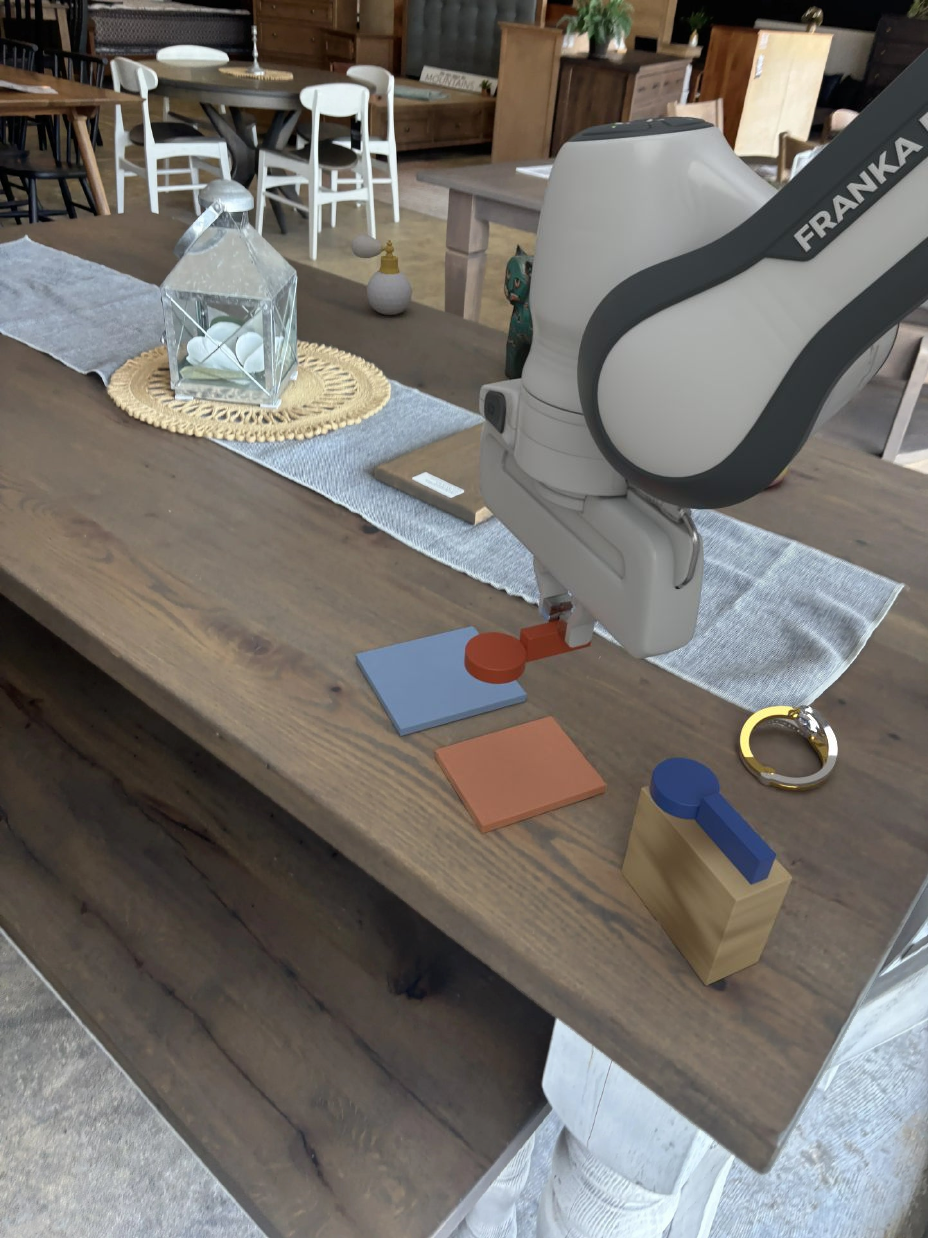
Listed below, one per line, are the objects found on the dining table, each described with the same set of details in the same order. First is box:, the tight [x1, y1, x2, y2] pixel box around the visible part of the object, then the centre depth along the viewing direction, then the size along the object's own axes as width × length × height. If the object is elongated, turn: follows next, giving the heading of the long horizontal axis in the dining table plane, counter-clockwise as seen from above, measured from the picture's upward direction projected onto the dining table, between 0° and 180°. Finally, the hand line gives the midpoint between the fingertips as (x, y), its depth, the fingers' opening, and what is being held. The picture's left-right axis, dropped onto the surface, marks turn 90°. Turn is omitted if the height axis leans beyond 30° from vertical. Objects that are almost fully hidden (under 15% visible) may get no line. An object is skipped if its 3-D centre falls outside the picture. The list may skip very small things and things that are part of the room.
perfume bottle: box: [350, 234, 413, 316], centre depth 149 cm, size 8×10×12 cm
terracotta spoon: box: [464, 620, 592, 684], centre depth 59 cm, size 9×4×2 cm, turn 115°
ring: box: [738, 704, 838, 792], centre depth 69 cm, size 7×3×8 cm
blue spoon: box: [649, 757, 777, 885], centre depth 52 cm, size 9×4×2 cm, turn 26°
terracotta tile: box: [434, 715, 607, 834], centre depth 66 cm, size 8×10×1 cm
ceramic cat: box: [503, 244, 534, 380], centre depth 121 cm, size 20×6×20 cm, turn 20°
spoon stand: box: [621, 784, 793, 986], centre depth 55 cm, size 9×4×8 cm, turn 26°
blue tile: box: [355, 625, 528, 737], centre depth 75 cm, size 10×11×1 cm
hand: (563, 628), depth 60 cm, fingers closed on terracotta spoon, 1 cm apart
